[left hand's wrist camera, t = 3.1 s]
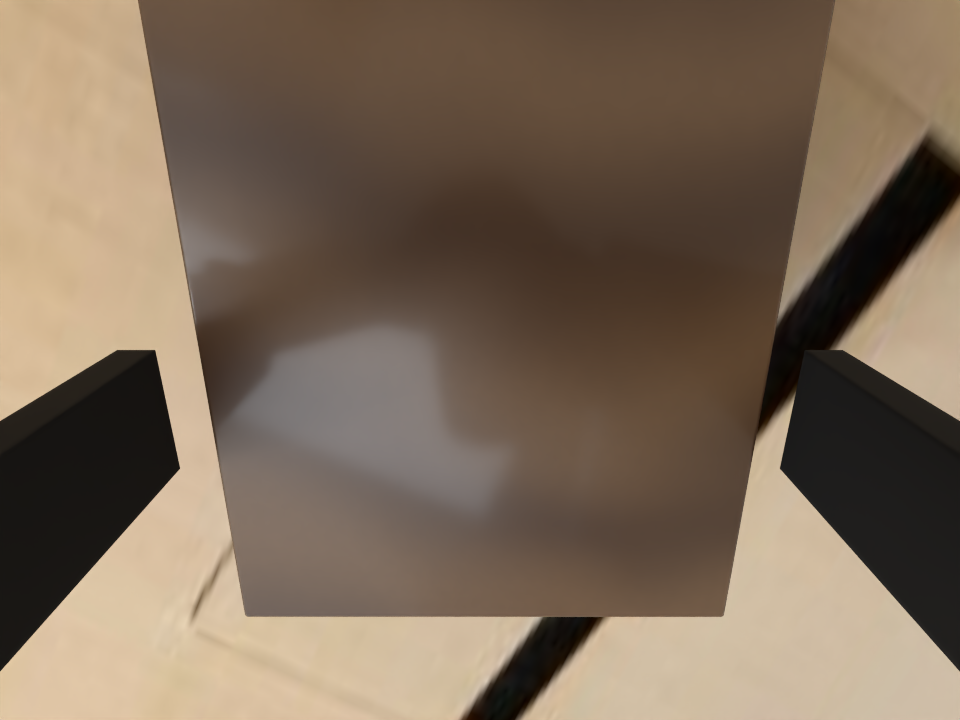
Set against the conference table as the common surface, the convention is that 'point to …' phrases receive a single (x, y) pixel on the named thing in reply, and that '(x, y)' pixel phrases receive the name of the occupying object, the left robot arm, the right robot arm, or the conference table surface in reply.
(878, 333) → the conference table surface
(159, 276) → the conference table surface
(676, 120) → the cabinet
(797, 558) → the conference table surface
